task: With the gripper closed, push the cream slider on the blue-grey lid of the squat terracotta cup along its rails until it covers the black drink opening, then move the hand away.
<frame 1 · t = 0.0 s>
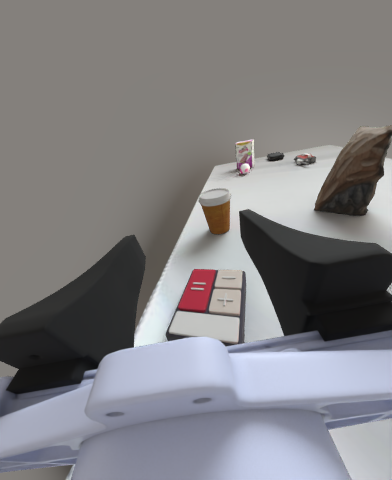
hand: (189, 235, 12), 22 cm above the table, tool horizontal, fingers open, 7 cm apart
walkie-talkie: (305, 163, 100), on the table
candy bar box: (245, 167, 123), on the table
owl: (338, 207, 52), on the table
carrying case: (275, 158, 126), on the table
disposable coffee cup: (219, 229, 56), on the table
calculator: (213, 311, 31), on the table
stress ball: (244, 173, 109), on the table
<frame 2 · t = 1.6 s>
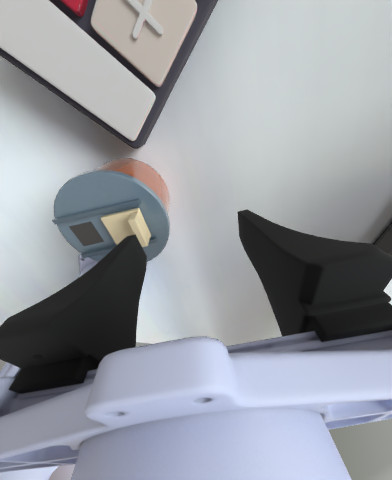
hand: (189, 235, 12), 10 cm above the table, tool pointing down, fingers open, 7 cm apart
lid slider: (125, 231, 14), point 8 cm above the table, slide at 3.6 cm
tumbler: (132, 198, 21), on the table
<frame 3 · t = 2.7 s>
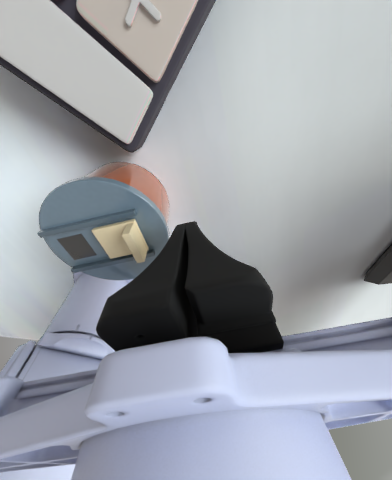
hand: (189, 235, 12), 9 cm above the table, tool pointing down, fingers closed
lid slider: (119, 245, 13), point 8 cm above the table, slide at 3.6 cm
tumbler: (129, 204, 19), on the table
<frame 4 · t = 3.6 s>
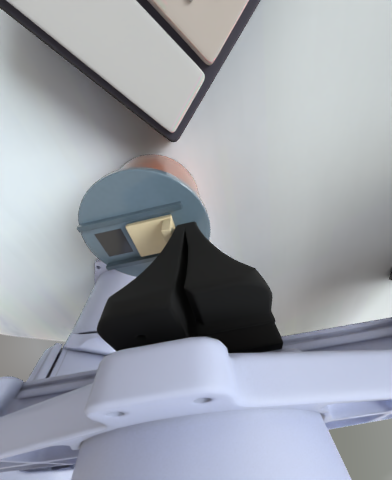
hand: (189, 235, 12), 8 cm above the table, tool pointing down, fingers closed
lid slider: (153, 242, 12), point 8 cm above the table, slide at 3.0 cm, touching gripper
tumbler: (157, 199, 18), on the table
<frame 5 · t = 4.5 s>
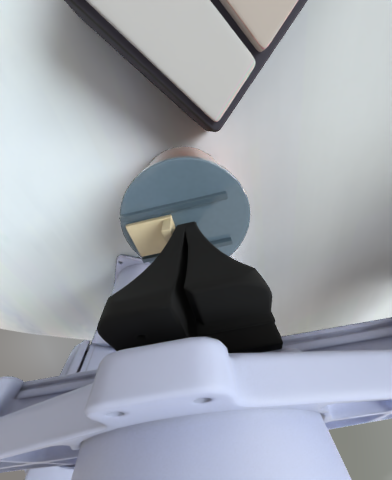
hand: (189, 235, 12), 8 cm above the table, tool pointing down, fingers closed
lid slider: (154, 242, 12), point 8 cm above the table, slide at 0.0 cm, touching gripper
tumbler: (184, 193, 18), on the table
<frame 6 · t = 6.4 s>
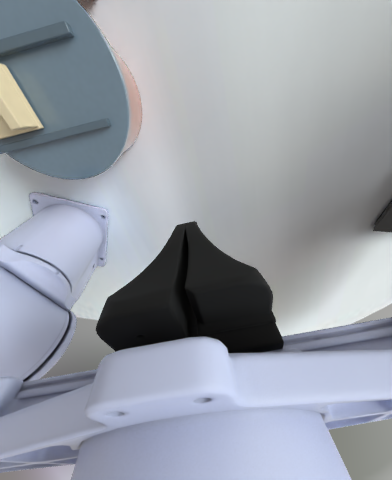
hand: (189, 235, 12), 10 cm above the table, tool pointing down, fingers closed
tumbler: (90, 103, 15), on the table
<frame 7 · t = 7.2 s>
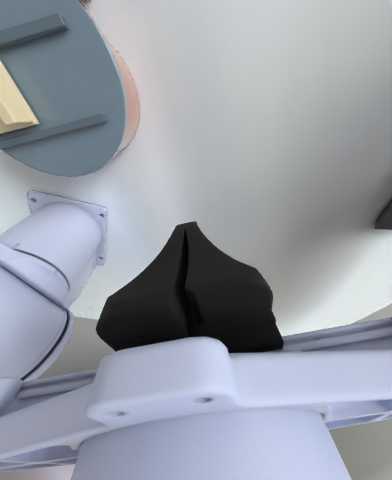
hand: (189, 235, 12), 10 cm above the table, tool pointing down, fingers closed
tumbler: (88, 99, 15), on the table
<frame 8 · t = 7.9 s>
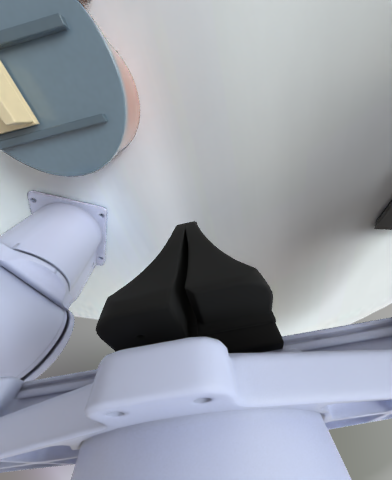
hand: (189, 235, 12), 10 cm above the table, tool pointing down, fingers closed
tumbler: (88, 99, 15), on the table
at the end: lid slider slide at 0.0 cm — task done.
